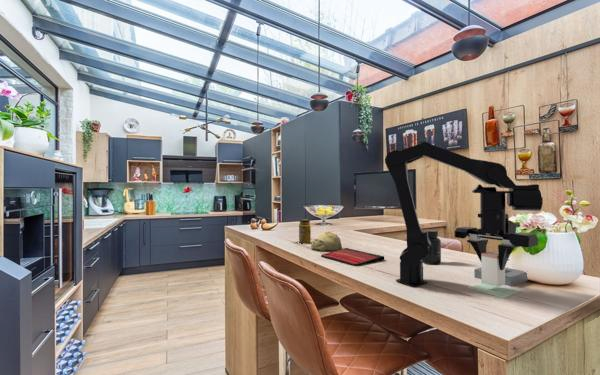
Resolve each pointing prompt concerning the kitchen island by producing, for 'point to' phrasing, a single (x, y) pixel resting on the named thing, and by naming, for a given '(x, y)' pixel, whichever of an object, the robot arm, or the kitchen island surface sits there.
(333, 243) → the tan lumpy mound
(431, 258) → the supplement bottle
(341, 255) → the binder
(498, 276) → the plug
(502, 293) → the mat
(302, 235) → the condiment
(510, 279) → the grey square socket block
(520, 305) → the kitchen island surface
